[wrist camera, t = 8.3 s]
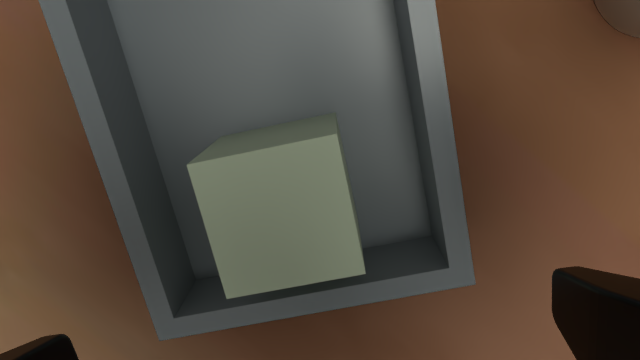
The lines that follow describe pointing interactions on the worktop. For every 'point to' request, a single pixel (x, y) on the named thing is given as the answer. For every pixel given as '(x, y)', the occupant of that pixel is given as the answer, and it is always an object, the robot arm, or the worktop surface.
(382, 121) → the tote
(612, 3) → the white cylinder
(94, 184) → the worktop surface
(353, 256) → the green cube
